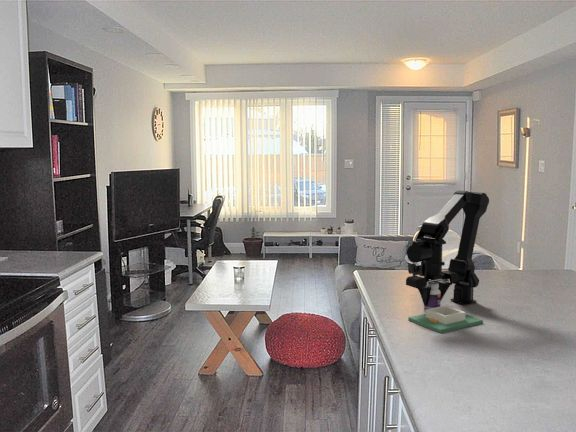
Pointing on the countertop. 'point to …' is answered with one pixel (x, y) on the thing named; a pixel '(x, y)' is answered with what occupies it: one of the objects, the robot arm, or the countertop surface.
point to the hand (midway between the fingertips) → (431, 304)
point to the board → (445, 319)
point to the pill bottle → (433, 296)
